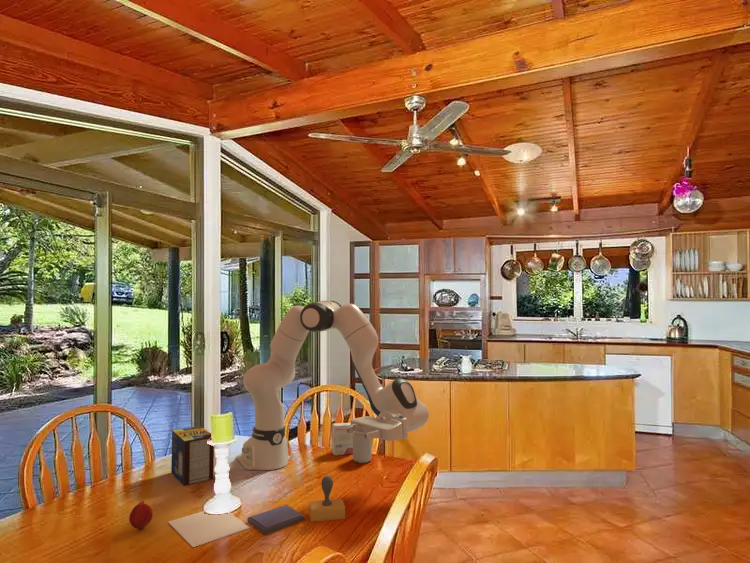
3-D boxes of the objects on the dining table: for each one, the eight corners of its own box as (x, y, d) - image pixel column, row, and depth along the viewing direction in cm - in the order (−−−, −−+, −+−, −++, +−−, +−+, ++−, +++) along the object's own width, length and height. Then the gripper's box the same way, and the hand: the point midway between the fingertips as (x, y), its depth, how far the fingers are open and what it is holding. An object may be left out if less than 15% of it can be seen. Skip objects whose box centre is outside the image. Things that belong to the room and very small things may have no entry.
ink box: (351, 450, 206) (352, 421, 206) (354, 454, 201) (354, 425, 201) (331, 451, 204) (332, 422, 204) (333, 455, 199) (334, 426, 199)
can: (369, 464, 189) (369, 433, 189) (350, 462, 190) (350, 431, 191) (373, 458, 196) (373, 428, 197) (355, 456, 198) (355, 426, 198)
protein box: (199, 466, 184) (200, 425, 184) (213, 479, 172) (214, 435, 172) (170, 472, 178) (171, 429, 178) (183, 486, 166) (184, 440, 166)
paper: (167, 522, 140) (167, 521, 140) (221, 506, 151) (221, 505, 151) (193, 548, 127) (193, 547, 127) (249, 528, 137) (249, 527, 137)
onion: (127, 535, 132) (127, 506, 132) (131, 525, 138) (131, 497, 138) (150, 533, 134) (151, 503, 134) (153, 523, 140) (154, 495, 140)
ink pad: (247, 521, 141) (247, 516, 141) (286, 508, 150) (286, 503, 150) (265, 534, 134) (265, 529, 134) (304, 520, 143) (304, 515, 143)
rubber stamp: (311, 522, 142) (311, 480, 142) (309, 513, 147) (309, 473, 148) (344, 519, 144) (345, 478, 144) (341, 510, 150) (342, 471, 150)
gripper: (369, 409, 171) (336, 418, 162) (409, 419, 155) (376, 428, 146) (370, 428, 170) (337, 437, 162) (411, 439, 155) (377, 450, 146)
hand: (356, 433), depth 154 cm, fingers open, 8 cm apart
